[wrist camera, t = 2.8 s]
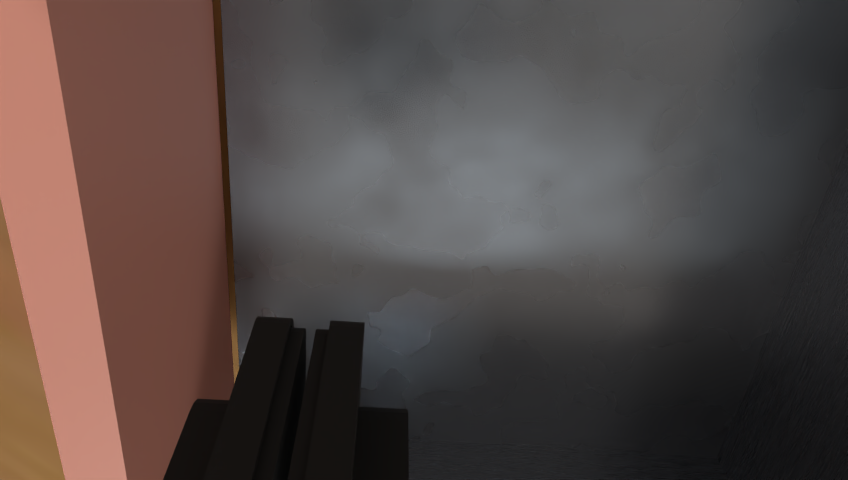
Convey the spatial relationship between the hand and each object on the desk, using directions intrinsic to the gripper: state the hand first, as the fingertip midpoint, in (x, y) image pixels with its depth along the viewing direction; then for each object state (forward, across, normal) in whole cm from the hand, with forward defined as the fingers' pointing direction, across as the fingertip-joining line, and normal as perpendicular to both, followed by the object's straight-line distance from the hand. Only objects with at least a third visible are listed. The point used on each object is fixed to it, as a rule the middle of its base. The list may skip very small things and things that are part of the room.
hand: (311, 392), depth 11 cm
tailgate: (+9, +4, 0) cm, 10 cm away
